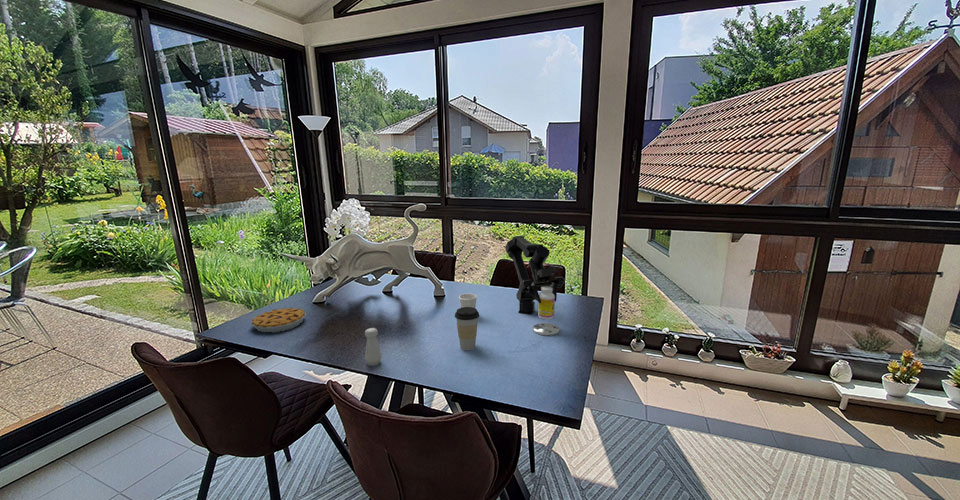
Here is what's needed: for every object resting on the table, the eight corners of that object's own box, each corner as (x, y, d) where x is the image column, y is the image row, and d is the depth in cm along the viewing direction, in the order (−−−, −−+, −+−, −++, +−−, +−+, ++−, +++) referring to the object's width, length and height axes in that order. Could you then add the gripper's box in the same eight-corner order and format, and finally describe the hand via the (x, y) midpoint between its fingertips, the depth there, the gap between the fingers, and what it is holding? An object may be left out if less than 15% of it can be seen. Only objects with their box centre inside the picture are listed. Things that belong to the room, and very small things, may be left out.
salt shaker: (367, 359, 142) (364, 326, 139) (383, 358, 142) (380, 325, 139) (363, 367, 136) (360, 333, 133) (380, 366, 136) (377, 332, 134)
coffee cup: (461, 354, 144) (460, 316, 141) (451, 344, 152) (450, 308, 149) (484, 349, 148) (483, 312, 145) (473, 339, 156) (472, 304, 153)
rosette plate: (529, 326, 168) (529, 324, 168) (552, 323, 171) (552, 321, 171) (539, 337, 158) (539, 334, 157) (563, 333, 160) (563, 331, 160)
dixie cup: (467, 321, 175) (466, 300, 173) (455, 316, 181) (455, 296, 179) (481, 316, 181) (480, 296, 178) (469, 311, 187) (469, 292, 185)
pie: (276, 314, 189) (275, 304, 188) (316, 317, 184) (315, 307, 183) (240, 332, 168) (239, 322, 167) (284, 336, 163) (282, 325, 162)
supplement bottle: (553, 320, 159) (554, 290, 156) (537, 319, 161) (538, 289, 158) (554, 314, 166) (555, 285, 163) (538, 313, 167) (539, 285, 164)
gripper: (522, 261, 159) (532, 295, 151) (563, 258, 164) (575, 291, 156) (515, 274, 168) (524, 307, 161) (555, 271, 173) (565, 302, 165)
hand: (547, 302), depth 160 cm, fingers closed on supplement bottle, 7 cm apart
